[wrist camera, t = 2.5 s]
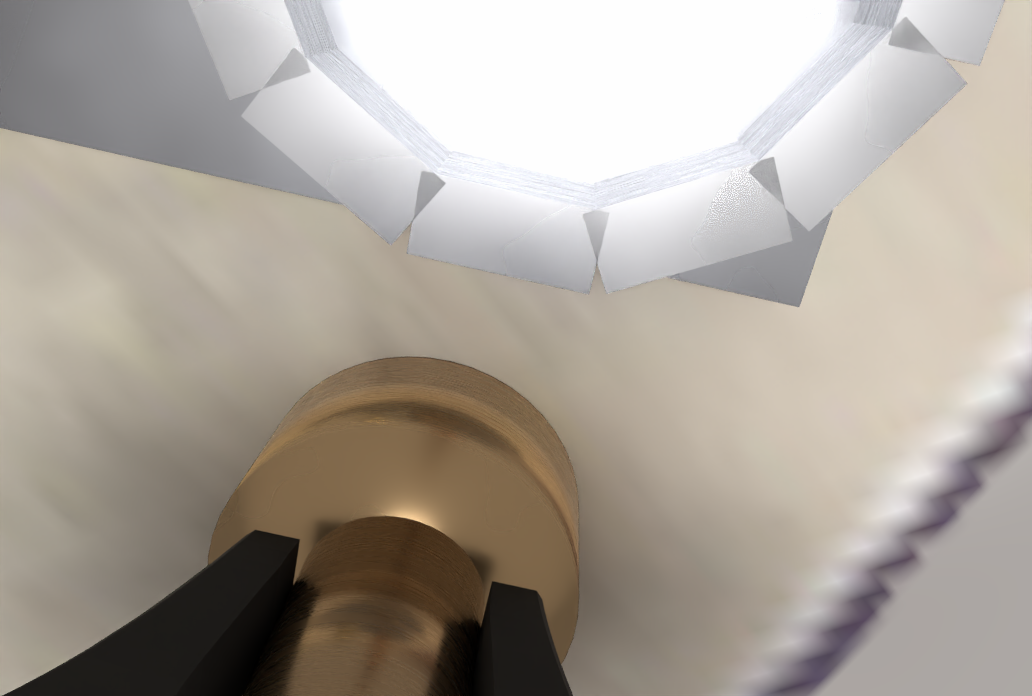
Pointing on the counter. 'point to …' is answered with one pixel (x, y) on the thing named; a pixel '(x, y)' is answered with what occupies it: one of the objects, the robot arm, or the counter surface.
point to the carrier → (515, 117)
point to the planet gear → (406, 527)
